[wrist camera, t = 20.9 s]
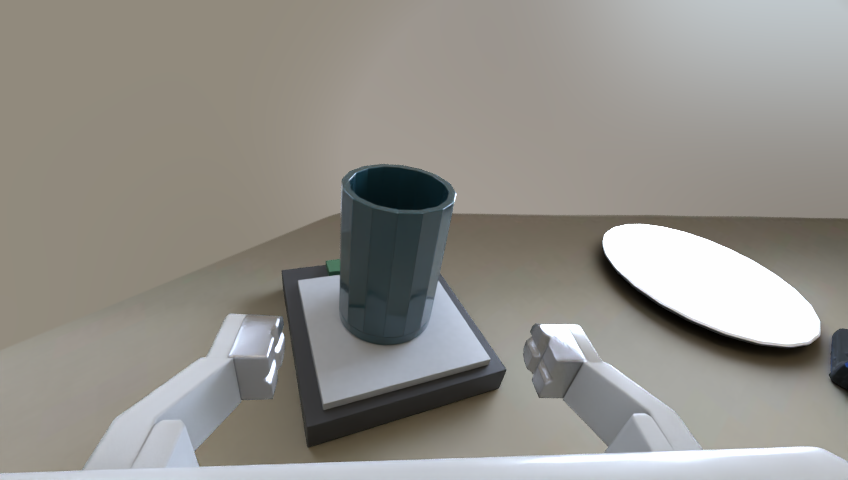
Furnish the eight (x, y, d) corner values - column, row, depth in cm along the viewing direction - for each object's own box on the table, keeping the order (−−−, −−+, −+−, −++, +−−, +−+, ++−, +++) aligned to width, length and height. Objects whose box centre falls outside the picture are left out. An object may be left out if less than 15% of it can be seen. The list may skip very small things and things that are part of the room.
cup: (318, 313, 26) (316, 182, 21) (377, 270, 31) (388, 156, 26) (395, 362, 23) (415, 227, 18) (446, 307, 28) (474, 188, 23)
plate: (858, 395, 30) (875, 382, 29) (596, 303, 36) (603, 289, 35) (766, 267, 47) (775, 256, 46) (598, 218, 52) (602, 207, 52)
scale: (283, 288, 31) (281, 264, 30) (423, 269, 36) (426, 247, 35) (307, 447, 21) (306, 421, 19) (499, 388, 26) (509, 363, 24)
